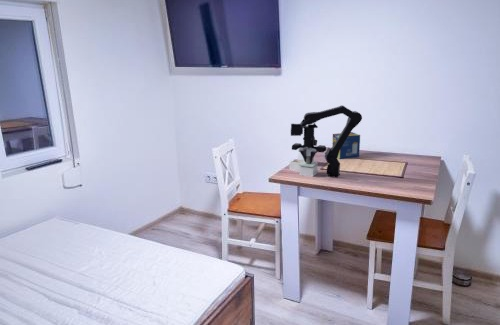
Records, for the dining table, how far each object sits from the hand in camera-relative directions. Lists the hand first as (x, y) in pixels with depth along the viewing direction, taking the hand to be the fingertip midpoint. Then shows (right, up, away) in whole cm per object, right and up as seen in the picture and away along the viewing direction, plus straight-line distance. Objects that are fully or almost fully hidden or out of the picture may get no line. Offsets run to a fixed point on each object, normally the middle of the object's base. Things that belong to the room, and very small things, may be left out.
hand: (308, 162), depth 213 cm
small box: (+2, -2, +23) cm, 23 cm away
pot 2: (0, -8, +2) cm, 8 cm away
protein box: (+32, +4, +42) cm, 53 cm away
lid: (0, -1, 0) cm, 1 cm away
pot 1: (-4, -5, +12) cm, 14 cm away
